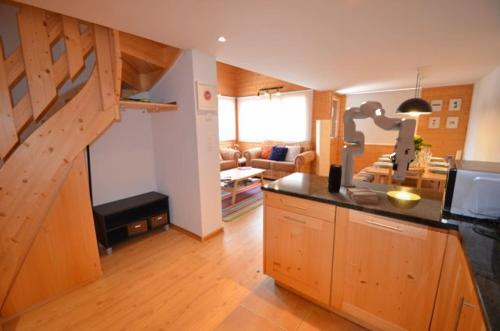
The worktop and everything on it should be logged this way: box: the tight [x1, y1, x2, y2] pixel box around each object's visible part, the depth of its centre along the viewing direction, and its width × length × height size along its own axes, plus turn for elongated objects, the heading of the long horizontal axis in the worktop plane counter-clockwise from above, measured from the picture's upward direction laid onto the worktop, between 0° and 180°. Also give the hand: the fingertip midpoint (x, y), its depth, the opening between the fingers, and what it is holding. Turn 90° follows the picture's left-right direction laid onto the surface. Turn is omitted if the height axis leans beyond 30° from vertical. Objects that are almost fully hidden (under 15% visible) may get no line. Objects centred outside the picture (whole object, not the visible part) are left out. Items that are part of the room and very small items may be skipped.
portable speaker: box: [327, 163, 342, 194], centre depth 162 cm, size 9×9×20 cm
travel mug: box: [392, 149, 410, 183], centre depth 135 cm, size 6×7×20 cm
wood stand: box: [345, 187, 379, 203], centre depth 150 cm, size 14×14×5 cm
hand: (400, 169), depth 135 cm, fingers closed on travel mug, 6 cm apart
